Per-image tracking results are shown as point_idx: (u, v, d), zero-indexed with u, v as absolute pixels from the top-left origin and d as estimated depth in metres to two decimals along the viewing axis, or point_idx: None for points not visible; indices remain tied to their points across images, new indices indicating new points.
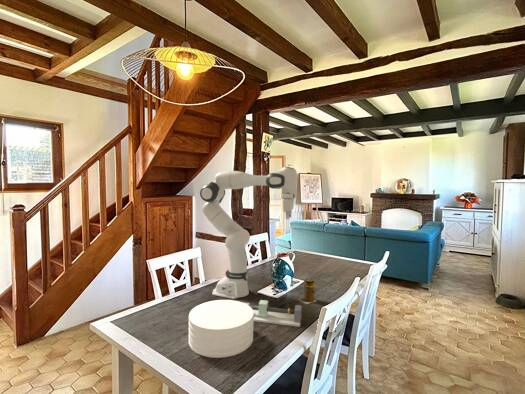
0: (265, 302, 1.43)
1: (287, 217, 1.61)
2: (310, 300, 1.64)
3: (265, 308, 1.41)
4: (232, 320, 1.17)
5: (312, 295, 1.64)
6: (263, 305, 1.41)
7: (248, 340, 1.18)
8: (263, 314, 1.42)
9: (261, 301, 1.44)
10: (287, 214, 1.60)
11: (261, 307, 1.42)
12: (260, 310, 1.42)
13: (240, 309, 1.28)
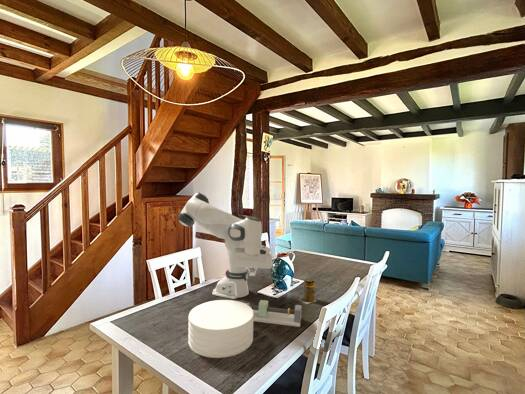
0: (265, 302, 1.43)
1: (255, 273, 1.44)
2: (310, 300, 1.64)
3: (265, 308, 1.41)
4: (232, 320, 1.17)
5: (312, 295, 1.64)
6: (263, 305, 1.41)
7: (248, 340, 1.17)
8: (263, 314, 1.42)
9: (261, 301, 1.44)
10: (256, 270, 1.44)
11: (261, 307, 1.42)
12: (260, 310, 1.42)
13: (240, 309, 1.28)
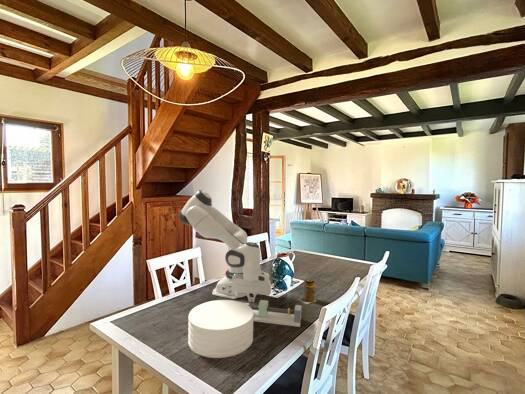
0: (265, 302, 1.43)
1: (254, 299, 1.44)
2: (310, 300, 1.64)
3: (265, 308, 1.41)
4: (232, 320, 1.17)
5: (312, 295, 1.64)
6: (263, 305, 1.41)
7: (248, 340, 1.17)
8: (263, 314, 1.42)
9: (261, 301, 1.44)
10: None
11: (261, 307, 1.42)
12: (260, 310, 1.42)
13: (240, 309, 1.28)
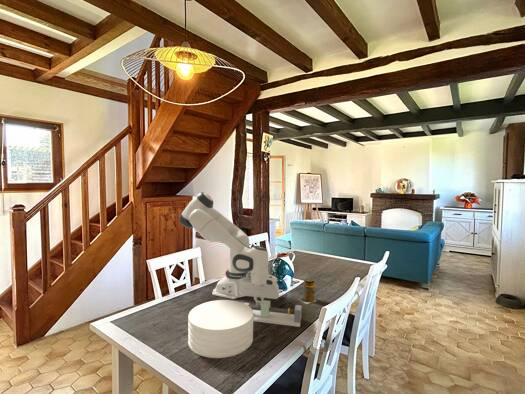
0: (267, 302, 1.43)
1: None
2: (310, 300, 1.64)
3: (267, 308, 1.41)
4: (232, 320, 1.17)
5: (312, 295, 1.64)
6: (265, 305, 1.41)
7: (248, 340, 1.17)
8: (265, 314, 1.41)
9: (263, 301, 1.44)
10: None
11: (263, 307, 1.41)
12: (262, 310, 1.42)
13: (240, 309, 1.28)
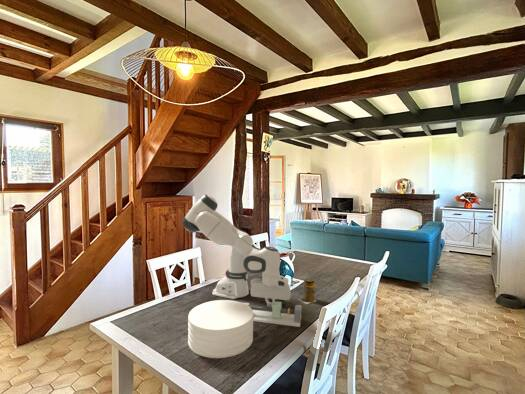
0: (279, 303, 1.42)
1: (272, 304, 1.42)
2: (310, 300, 1.64)
3: (279, 310, 1.40)
4: (232, 320, 1.17)
5: (312, 295, 1.64)
6: (277, 307, 1.40)
7: (248, 340, 1.17)
8: (277, 316, 1.40)
9: (274, 302, 1.43)
10: None
11: (275, 309, 1.40)
12: (274, 312, 1.40)
13: (240, 309, 1.28)
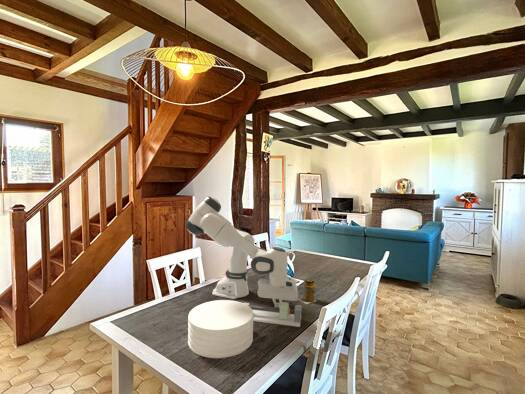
0: (286, 304, 1.41)
1: None
2: (310, 300, 1.64)
3: (286, 310, 1.39)
4: (232, 320, 1.17)
5: (312, 295, 1.64)
6: (284, 307, 1.39)
7: (248, 340, 1.17)
8: (284, 316, 1.39)
9: (282, 303, 1.42)
10: (281, 301, 1.41)
11: (282, 309, 1.40)
12: (281, 312, 1.40)
13: (240, 309, 1.28)
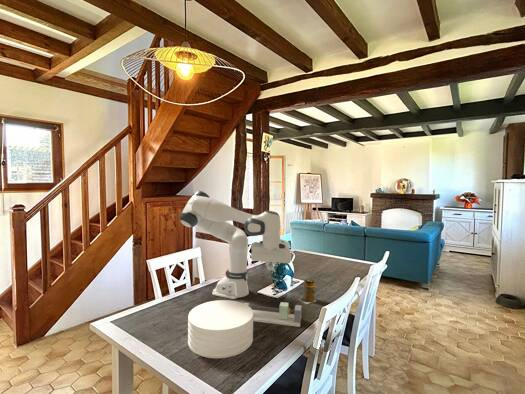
0: (286, 304, 1.41)
1: (273, 268, 1.42)
2: (310, 300, 1.64)
3: (286, 310, 1.39)
4: (232, 320, 1.17)
5: (312, 295, 1.64)
6: (284, 307, 1.39)
7: (248, 341, 1.17)
8: (284, 316, 1.40)
9: (281, 303, 1.42)
10: None
11: (282, 309, 1.40)
12: (281, 312, 1.40)
13: (240, 309, 1.28)
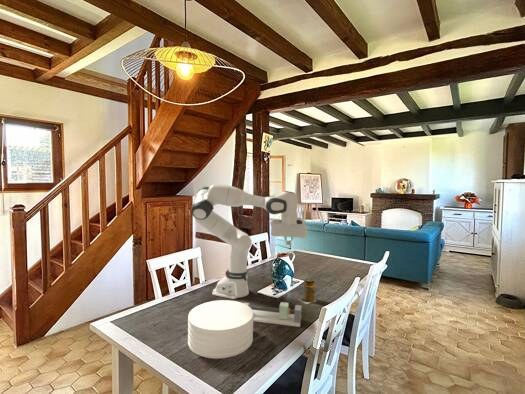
0: (286, 304, 1.41)
1: (291, 242, 1.58)
2: (310, 300, 1.64)
3: (286, 310, 1.39)
4: (232, 321, 1.17)
5: (312, 295, 1.64)
6: (284, 307, 1.39)
7: (248, 341, 1.17)
8: (284, 316, 1.40)
9: (281, 303, 1.42)
10: (292, 239, 1.58)
11: (282, 309, 1.40)
12: (281, 312, 1.40)
13: (240, 309, 1.28)
